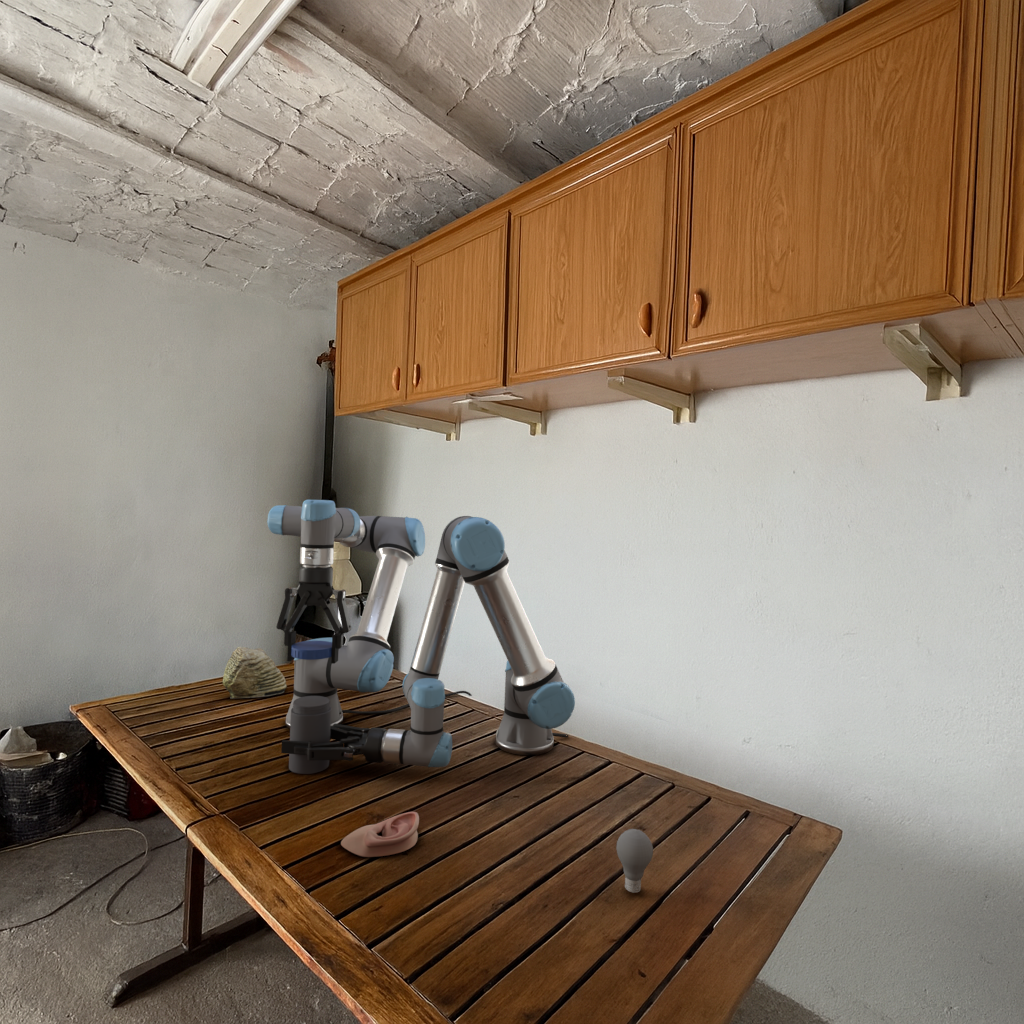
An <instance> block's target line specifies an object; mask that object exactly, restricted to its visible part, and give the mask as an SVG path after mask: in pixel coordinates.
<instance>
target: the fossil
mask: <svg viewBox="0 0 1024 1024" xmlns="http://www.w3.org/2000/svg"><path fill="white" fill-rule="evenodd" d="M222 676H223V677H222V685H223V687H224V688H225V690H226V691H228V693H229V698H230V699H250V698H264V697H271V696H275V695H281V694H284V693H285V691H286V689H287V687H288V686H287V680H286V678H285V676H284V674H283V673H282V672H281V669H279V668H278V667H277V665H276V663H275V662H274V660H273V659H272V658H271V657H270V656H269V655H268V654H267V653H266V652H265V650H264V649H263V648H260V647H258V648H251V647H247V646H246V647H245V646H238V647H237V648H236V649H235V650H233V651H232V653H231V656H230V657H229V659H228V660H227V663H226V666H225V668H224V671H223V675H222Z"/></svg>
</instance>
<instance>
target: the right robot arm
mask: <svg viewBox="0 0 1024 1024" xmlns="http://www.w3.org/2000/svg"><path fill="white" fill-rule="evenodd" d="M505 546H506V544H505V538H504V535H503V533H502V532H501V529H500V528H499V527H498V526H497V525H496V524H495V523H493V522H492V521H491V520H489V519H487V518H484V517H479V516H470V515H461V516H457V517H455V518H454V519H451V520H450V521H449V522H448V523H447V524H446V525H445V527H444V529H443V531H442V533H441V537H440V542H439V545H438V549H437V555H436V558H435V562H434V565H435V567H436V569H437V570H436V573H435V578H434V580H433V583H432V587H431V590H430V591H431V592H430V594H429V599H428V602H427V606H426V609H425V613H424V616H423V621H422V623H421V627H420V630H419V635H418V639H417V641H416V645H415V649H414V652H413V656H412V660H411V664H410V668H409V670H408V673H407V674H406V675H405V676H404V677H403V680H402V693H403V695H404V697H405V699H406V701H407V704H409V708H410V730H409V729H401V728H400V729H399V728H388V729H386V728H383V727H371V728H369V727H358V726H352V725H346V724H342V723H341V724H333V726H331V729H330V742H329V743H319V744H312V742H311V741H309V742H302V741H290V739H289V740H288V739H287V740H286V739H283V740H281V746H280V748H281V750H280V753H281V754H288V755H289V754H299V755H308V760H329V761H348V762H352V761H353V760H354V756H359V755H363V756H364V759H365V761H366V762H367V763H378V764H381V763H384V764H392V765H394V766H399V765H408V766H414V767H415V766H418V767H425V768H426V767H427V768H445V767H447V766H448V765H449V764H450V762H451V760H452V759H451V758H452V755H453V754H452V753H453V735H452V734H451V733H448V732H445V731H444V715H445V700H446V696H445V694H446V693H445V683H444V682H443V681H442V680H440V679H439V677H440V674H441V669H442V665H443V663H444V660H445V659H444V658H445V655H446V652H447V649H448V645H449V641H450V638H451V634H452V630H453V626H454V623H455V619H456V615H457V613H458V608H459V604H460V602H461V597H462V594H463V591H464V587H465V584H468V585H470V586H472V587H474V590H475V592H476V594H477V596H478V598H479V602H480V603H481V606H482V607H483V610H484V612H485V614H486V616H487V618H488V621H489V622H490V625H491V627H492V629H493V631H494V633H495V636H496V638H497V640H498V642H499V644H500V647H501V649H502V650H503V653H504V654H505V655H504V656H505V657H506V663H505V670H504V672H505V679H504V680H505V682H504V703H503V705H504V707H503V715H502V718H501V721H500V724H499V726H498V728H497V730H496V732H495V745H496V746H497V748H499V749H500V750H502V751H504V752H506V753H509V754H514V755H520V756H538V755H542V754H546V753H548V752H550V751H552V749H553V748H554V739H555V738H554V737H556V738H558V737H559V738H565V739H568V737H569V734H566V733H559V732H553V731H552V730H553V729H556V728H560V727H561V726H562V725H564V724H565V723H566V722H568V720H569V719H570V718H571V716H572V715H573V712H574V710H575V706H576V699H575V694H574V691H573V690H572V688H571V687H570V686H569V684H567V683H566V682H564V679H563V677H562V675H561V673H560V671H559V669H558V666H557V664H556V662H555V660H553V659H552V658H548V657H547V656H546V655H545V652H544V650H543V648H542V646H541V644H540V642H539V639H538V637H537V635H536V633H535V630H534V629H533V626H532V624H531V621H530V620H529V617H528V615H527V613H526V610H525V609H524V606H523V604H522V601H521V600H520V598H519V595H518V592H517V590H516V588H515V586H514V584H513V582H512V579H511V577H510V575H509V572H508V568H509V565H510V559H509V557H508V555H507V553H506V550H505V548H506V547H505ZM566 735H567V736H566ZM331 740H335V741H331Z"/></svg>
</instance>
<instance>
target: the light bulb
mask: <svg viewBox="0 0 1024 1024" xmlns="http://www.w3.org/2000/svg"><path fill="white" fill-rule="evenodd" d="M615 849H616V854H617V857H618V859H619V861H620V863H621V865H622V867H623V873H624V874H623V875H624V876H625V878H624V888H625V890H627V891H628V892H630V893H634V894H635V893H639V892H640V891H641V889H642V887H641V886H642V879H643V877H644V875H645V871H646V868H647V867H648V866H649V864H650V863H651V861H652V859H653V855H654V847H653V843H652V841H651V838H649V836H648V835H647V834H646V833H645V832H643V831H642V830H641V829H636V828H629V829H627V830H625V831H623V832H622V833H621V834H620V835H619V837H618V839H617V841H616V847H615Z"/></svg>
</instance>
